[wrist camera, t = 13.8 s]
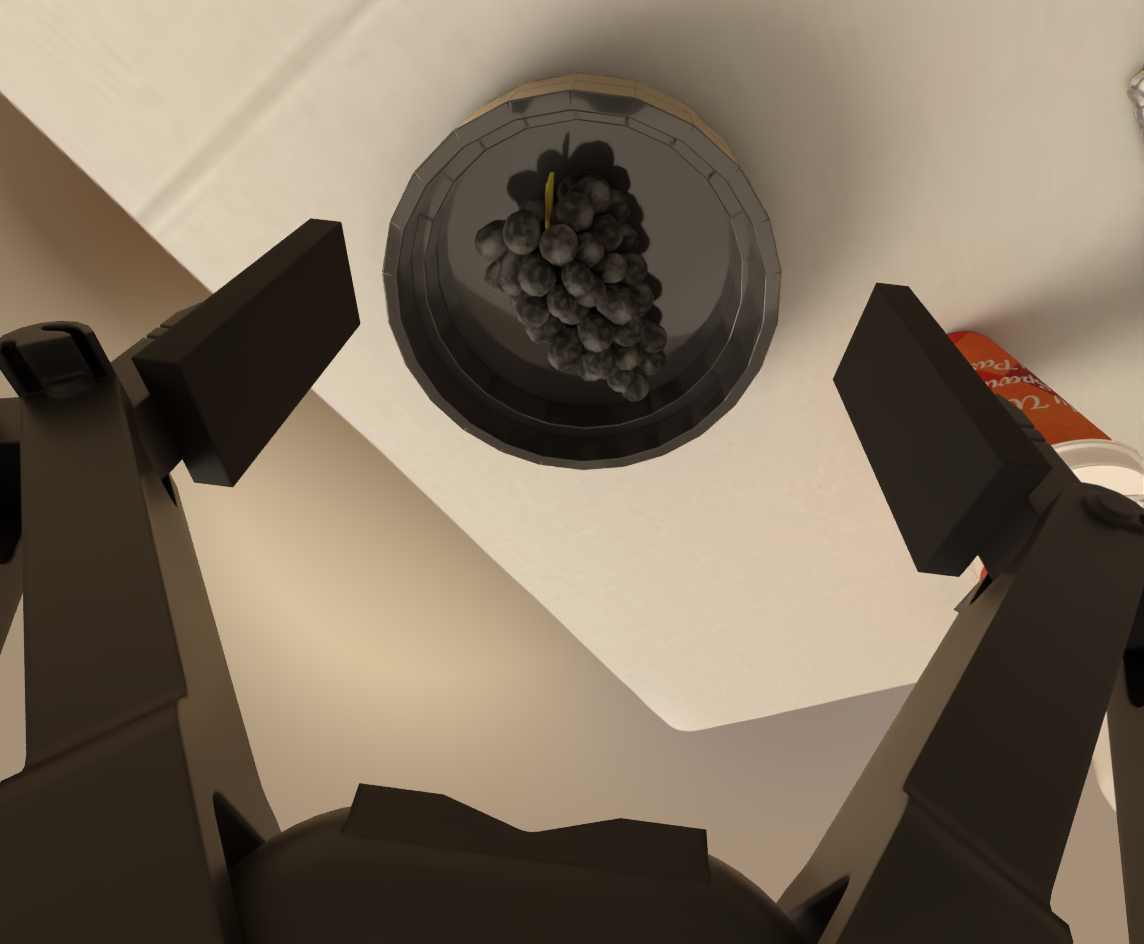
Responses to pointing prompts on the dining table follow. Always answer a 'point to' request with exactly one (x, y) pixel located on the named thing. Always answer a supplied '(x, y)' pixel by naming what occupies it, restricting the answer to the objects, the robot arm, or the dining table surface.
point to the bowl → (488, 321)
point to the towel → (1138, 98)
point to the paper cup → (1056, 419)
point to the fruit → (579, 282)
